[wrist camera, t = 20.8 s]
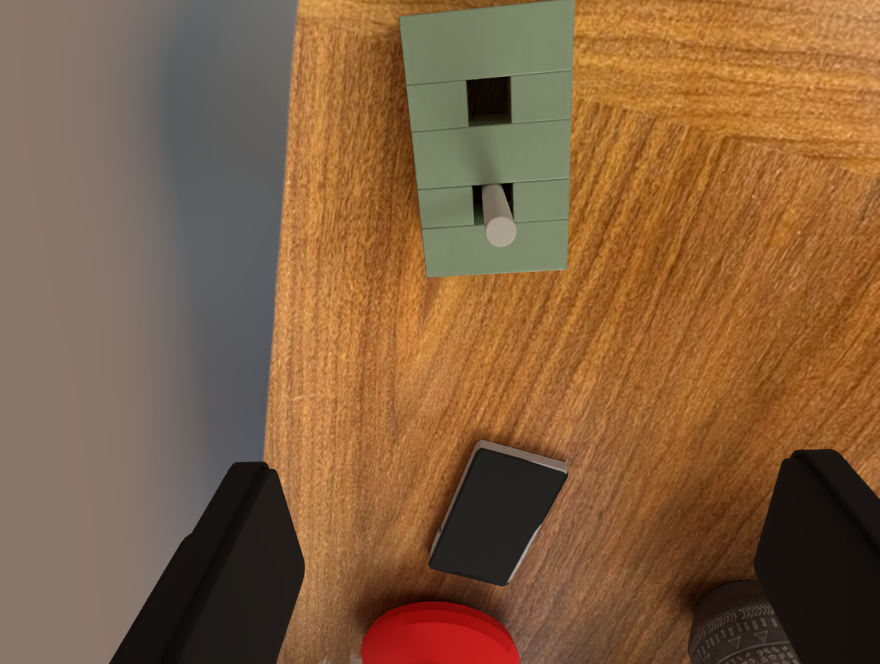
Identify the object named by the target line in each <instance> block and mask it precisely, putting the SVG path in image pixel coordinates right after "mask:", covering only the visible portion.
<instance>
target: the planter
mask: <svg viewBox="0 0 880 664" xmlns="http://www.w3.org/2000/svg"><path fill="white" fill-rule="evenodd" d="M688 654H689V657H690V661H691V664H801V663H800V661H799V659H798V657H797V655H796V653H795V651H794V649H793V647H792V645H791V644H790V642H789V640H788V638H787V636H786V634H785V632H784V630H783V628H782V626H781V624H780V622H779V620H778V618H777V616H776V614H775V612H774V611H773V609H772V607H771V605H770V603H769V601H768V599H767V597H766V595H765V593H764V591H763V589H762V587H761V585H760V583H759V581H756V580H746V581H737V582H732V583H728V584H725V585H723V586H720V587H718V588H716V589H714V590H712V591H711V592H709V593H708V594H707V595H706V596H705V597H704V598H703V599H702V600H701V601H700V603H699V605H698V607H697V611H696V614H695V617H694V620H693V624H692V628H691V632H690V637H689V644H688Z"/></svg>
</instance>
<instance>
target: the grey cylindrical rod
mask: <svg viewBox="0 0 880 664" xmlns="http://www.w3.org/2000/svg"><path fill="white" fill-rule="evenodd" d="M481 188H482V201H483V214H484V227H485V236H486V239H487V240H488V242H489V243H490V244H492V245H494V246H497V247H504V246H507V245H509V244H510V243H511V242H512V241H513V240H514V238H515V236H516V225H515V223H514V220H513V217H512V214H511V211H510V208H509V205H508V202H507V200H506V197H505V194H504V191H503V188H502V185H501V183H499V184H485V185H482V186H481Z"/></svg>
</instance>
